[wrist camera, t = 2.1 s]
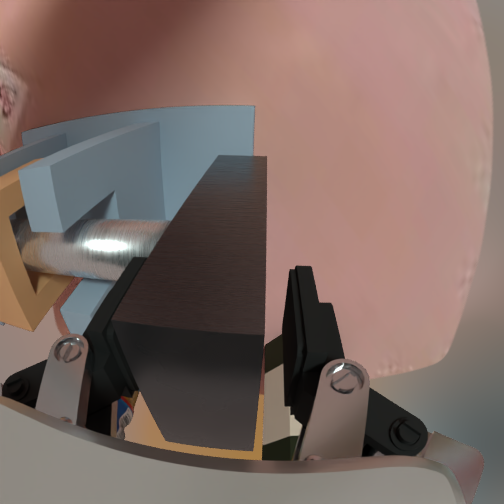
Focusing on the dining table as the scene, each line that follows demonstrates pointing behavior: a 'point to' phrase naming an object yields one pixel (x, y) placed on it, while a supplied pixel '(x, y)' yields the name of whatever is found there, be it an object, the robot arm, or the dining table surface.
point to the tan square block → (22, 267)
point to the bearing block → (120, 173)
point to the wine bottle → (277, 409)
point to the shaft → (183, 299)
